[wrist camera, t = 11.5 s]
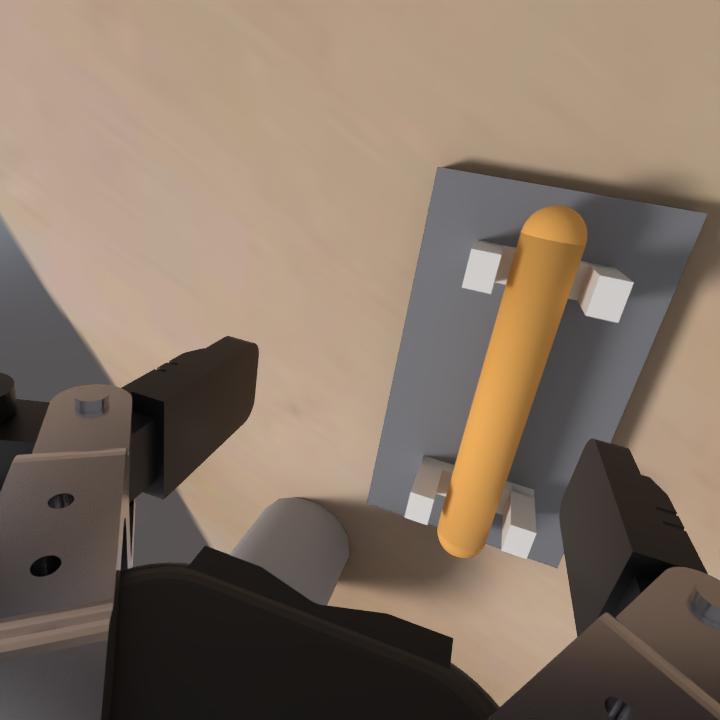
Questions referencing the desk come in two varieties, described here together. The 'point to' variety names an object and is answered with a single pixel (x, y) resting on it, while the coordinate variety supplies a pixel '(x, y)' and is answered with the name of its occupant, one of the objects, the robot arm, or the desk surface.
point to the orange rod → (511, 373)
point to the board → (565, 361)
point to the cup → (298, 546)
